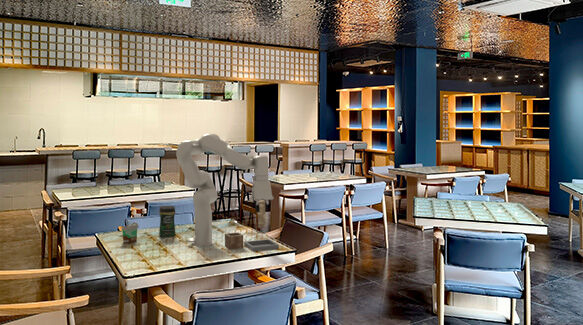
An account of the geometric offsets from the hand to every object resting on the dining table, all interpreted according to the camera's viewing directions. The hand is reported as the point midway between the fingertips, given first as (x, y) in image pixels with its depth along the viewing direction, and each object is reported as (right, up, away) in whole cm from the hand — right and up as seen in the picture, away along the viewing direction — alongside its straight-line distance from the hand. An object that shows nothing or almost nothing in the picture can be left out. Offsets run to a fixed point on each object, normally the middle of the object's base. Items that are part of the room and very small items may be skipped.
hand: (261, 211), depth 256 cm
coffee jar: (-60, -18, +31) cm, 70 cm away
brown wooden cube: (-15, -21, 0) cm, 26 cm away
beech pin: (0, -9, +1) cm, 9 cm away
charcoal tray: (0, -21, +2) cm, 21 cm away
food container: (-76, -19, +16) cm, 80 cm away
